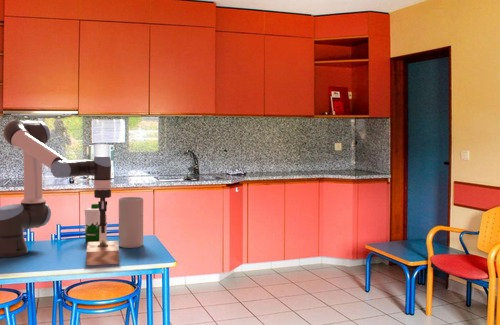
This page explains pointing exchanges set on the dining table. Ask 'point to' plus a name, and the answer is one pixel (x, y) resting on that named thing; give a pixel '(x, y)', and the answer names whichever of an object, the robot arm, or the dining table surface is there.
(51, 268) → the dining table surface
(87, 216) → the milk carton
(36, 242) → the dining table surface
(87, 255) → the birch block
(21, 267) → the dining table surface
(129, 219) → the cylinder vase
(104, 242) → the beige wooden bar
